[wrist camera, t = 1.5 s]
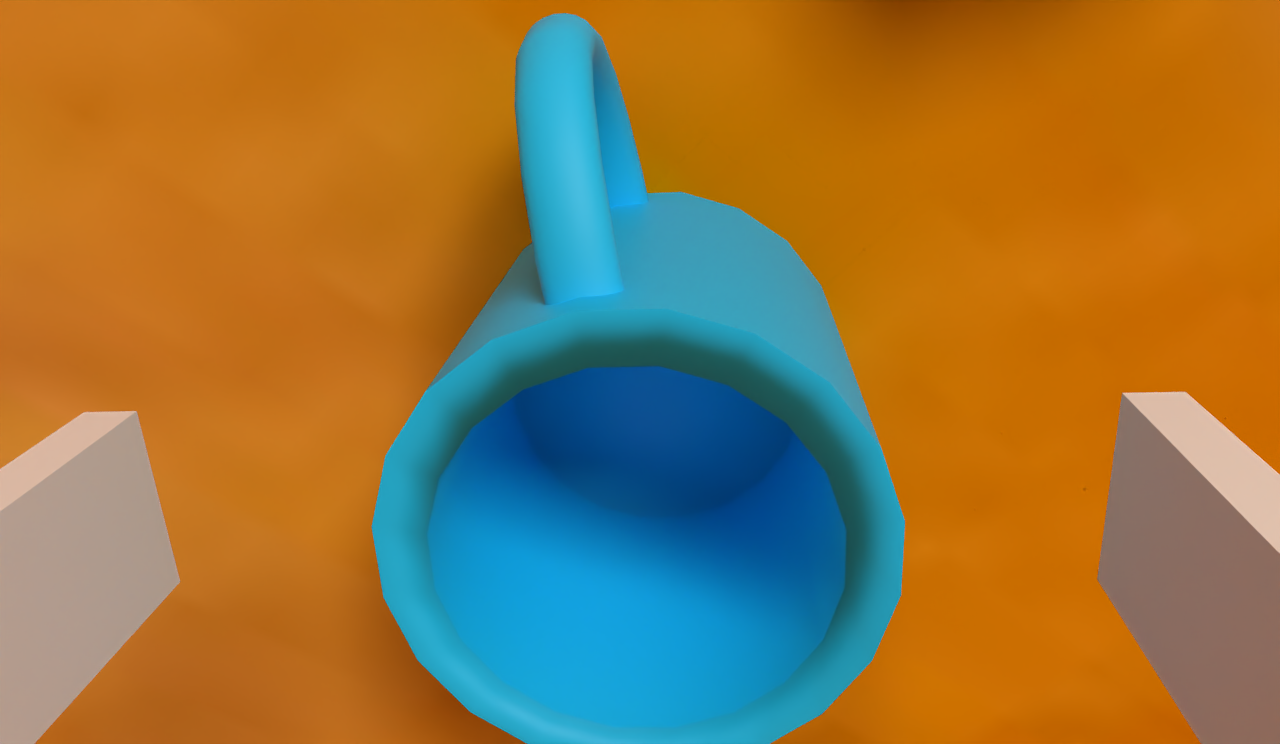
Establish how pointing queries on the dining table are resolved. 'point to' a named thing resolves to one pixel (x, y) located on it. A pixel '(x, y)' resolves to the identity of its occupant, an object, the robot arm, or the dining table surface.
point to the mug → (638, 460)
